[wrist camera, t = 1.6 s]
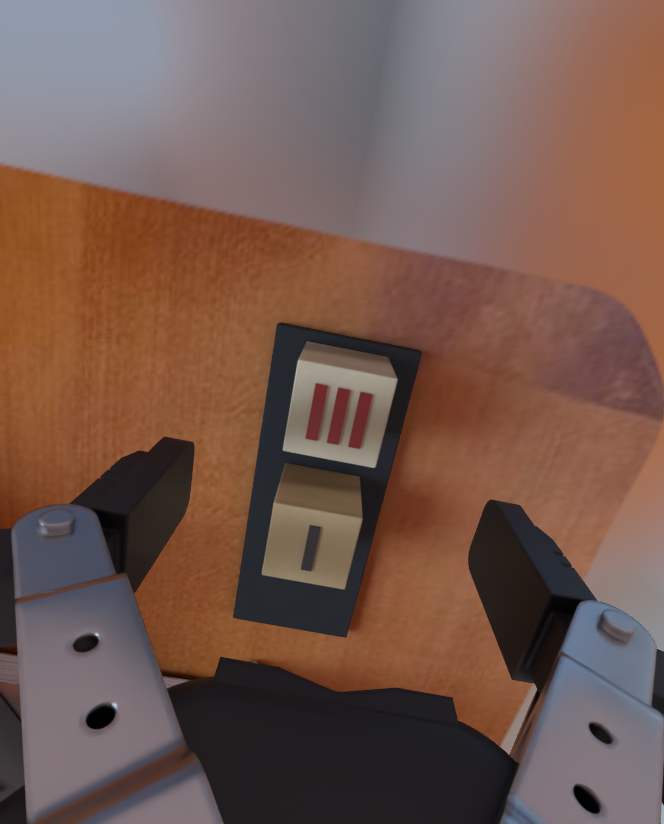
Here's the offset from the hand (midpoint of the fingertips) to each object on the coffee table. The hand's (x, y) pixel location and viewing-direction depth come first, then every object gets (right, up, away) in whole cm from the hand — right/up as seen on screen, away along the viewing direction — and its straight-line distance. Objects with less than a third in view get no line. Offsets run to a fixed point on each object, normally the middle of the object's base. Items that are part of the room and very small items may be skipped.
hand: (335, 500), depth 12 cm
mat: (-1, -2, +12) cm, 13 cm away
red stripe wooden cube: (0, +4, +10) cm, 10 cm away
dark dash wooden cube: (-1, -2, +12) cm, 12 cm away
